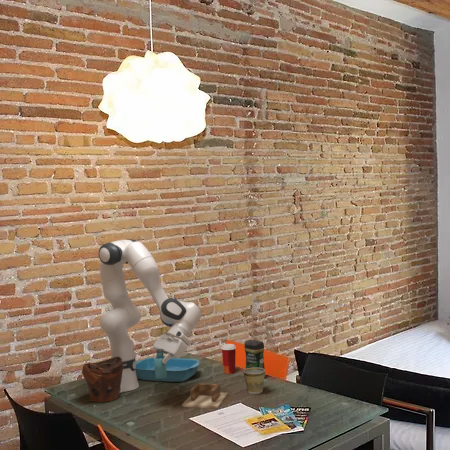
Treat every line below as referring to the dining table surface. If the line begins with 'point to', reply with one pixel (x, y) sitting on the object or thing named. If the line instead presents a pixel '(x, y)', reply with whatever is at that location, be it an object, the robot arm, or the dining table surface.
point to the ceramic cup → (254, 379)
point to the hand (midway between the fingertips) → (159, 361)
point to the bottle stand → (205, 396)
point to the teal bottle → (160, 365)
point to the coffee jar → (254, 354)
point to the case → (103, 379)
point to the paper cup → (228, 358)
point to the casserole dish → (175, 369)
